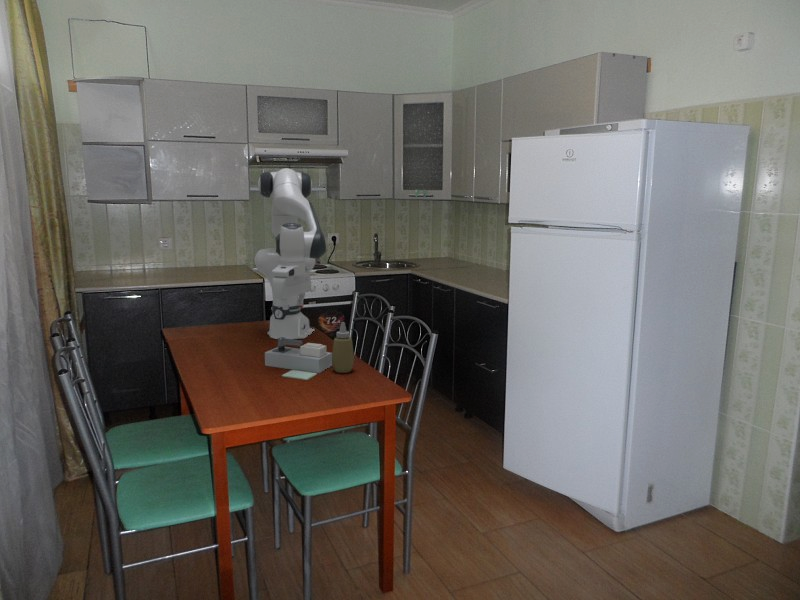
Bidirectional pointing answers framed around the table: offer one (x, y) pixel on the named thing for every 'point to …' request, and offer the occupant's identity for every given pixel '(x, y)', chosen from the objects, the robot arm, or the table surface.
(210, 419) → the table surface
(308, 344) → the cover
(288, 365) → the block
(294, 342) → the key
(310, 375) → the pad
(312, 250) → the robot arm
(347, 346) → the squeeze bottle
